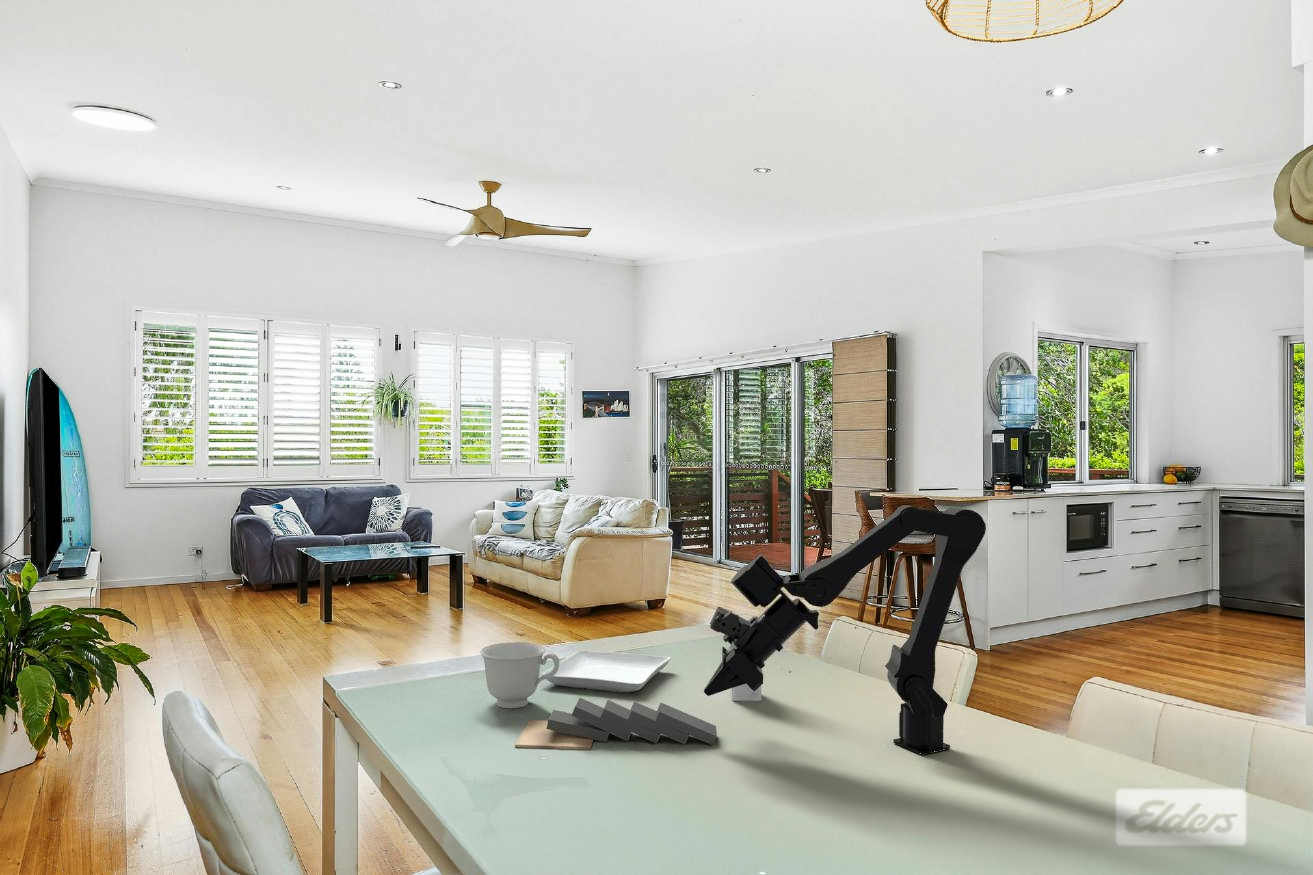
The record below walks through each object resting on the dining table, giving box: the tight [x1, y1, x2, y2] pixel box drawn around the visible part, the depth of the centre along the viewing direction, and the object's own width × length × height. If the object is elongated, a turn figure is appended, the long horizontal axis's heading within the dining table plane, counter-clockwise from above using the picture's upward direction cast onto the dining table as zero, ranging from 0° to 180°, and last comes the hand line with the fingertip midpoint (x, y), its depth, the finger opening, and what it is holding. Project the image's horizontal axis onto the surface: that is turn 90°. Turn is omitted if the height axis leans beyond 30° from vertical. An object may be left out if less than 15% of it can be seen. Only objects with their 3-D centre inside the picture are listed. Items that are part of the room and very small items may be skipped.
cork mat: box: [514, 719, 595, 750], centre depth 139 cm, size 12×12×1 cm
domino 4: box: [628, 701, 690, 745], centre depth 139 cm, size 2×5×10 cm
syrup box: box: [729, 618, 762, 702], centre depth 162 cm, size 6×6×14 cm
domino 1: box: [546, 709, 610, 743], centre depth 139 cm, size 2×5×10 cm
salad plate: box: [541, 650, 671, 693], centre depth 173 cm, size 21×21×3 cm
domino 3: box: [600, 699, 662, 744], centre depth 139 cm, size 2×5×10 cm
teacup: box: [479, 641, 560, 709], centre depth 156 cm, size 12×15×10 cm
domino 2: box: [571, 697, 632, 742], centre depth 139 cm, size 2×5×10 cm
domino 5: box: [656, 702, 718, 746], centre depth 138 cm, size 2×5×10 cm
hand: (705, 693), depth 138 cm, fingers closed
